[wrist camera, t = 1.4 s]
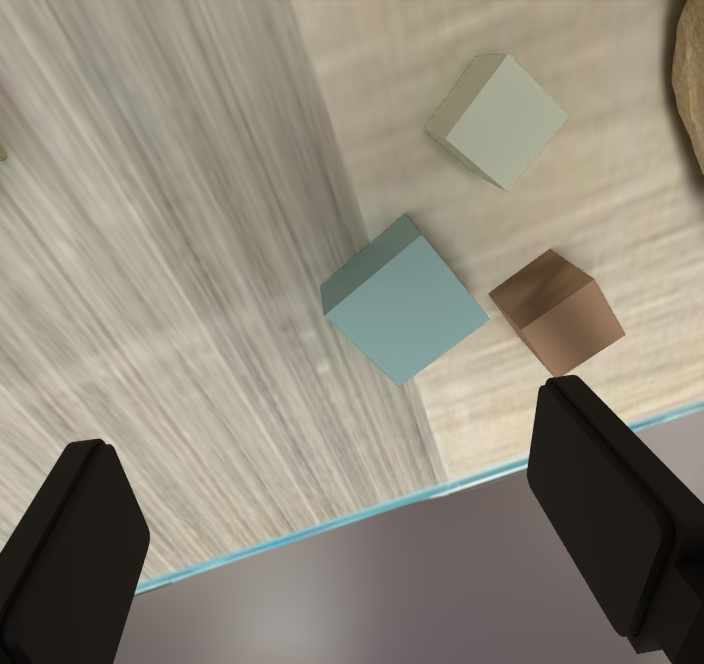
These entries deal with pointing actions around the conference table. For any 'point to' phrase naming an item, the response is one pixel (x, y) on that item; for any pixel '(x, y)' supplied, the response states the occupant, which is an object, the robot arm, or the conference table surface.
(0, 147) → the stack of blocks
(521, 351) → the conference table surface
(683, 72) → the rough brown rock
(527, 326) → the walnut cube
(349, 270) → the teal block
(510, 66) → the sage cube
